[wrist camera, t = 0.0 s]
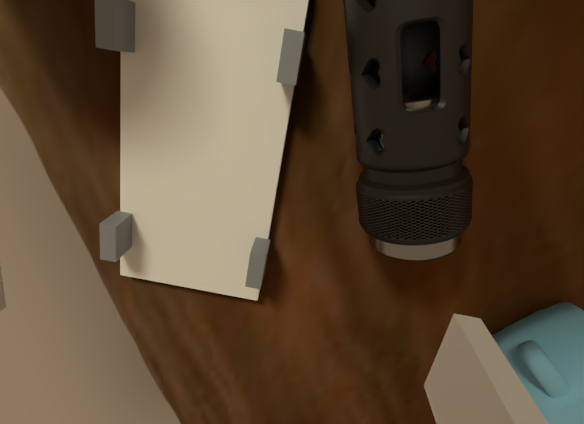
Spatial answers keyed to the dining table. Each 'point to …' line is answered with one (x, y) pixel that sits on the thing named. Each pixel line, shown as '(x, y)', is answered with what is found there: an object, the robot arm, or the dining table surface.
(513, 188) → the dining table surface
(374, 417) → the dining table surface
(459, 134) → the muzzle brake
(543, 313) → the teapot
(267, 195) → the mounting board
